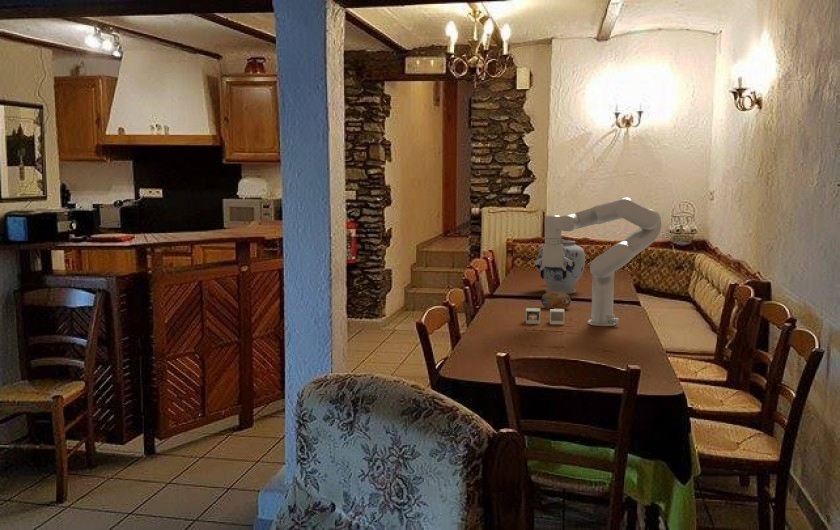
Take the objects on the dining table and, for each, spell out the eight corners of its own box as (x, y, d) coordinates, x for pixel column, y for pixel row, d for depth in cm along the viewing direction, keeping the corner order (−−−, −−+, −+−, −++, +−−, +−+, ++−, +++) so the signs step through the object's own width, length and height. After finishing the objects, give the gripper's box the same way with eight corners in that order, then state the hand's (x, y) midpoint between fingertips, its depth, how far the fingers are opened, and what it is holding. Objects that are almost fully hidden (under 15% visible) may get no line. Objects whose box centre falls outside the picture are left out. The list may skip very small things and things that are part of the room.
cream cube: (564, 321, 343) (564, 309, 342) (564, 324, 336) (564, 311, 336) (550, 321, 344) (550, 308, 343) (550, 324, 337) (550, 311, 337)
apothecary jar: (530, 289, 440) (530, 239, 436) (570, 287, 448) (570, 238, 444) (551, 296, 414) (552, 243, 411) (593, 293, 422) (594, 241, 419)
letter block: (537, 321, 344) (537, 313, 343) (537, 323, 340) (537, 314, 339) (528, 321, 344) (528, 312, 344) (528, 323, 340) (528, 314, 340)
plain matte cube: (540, 321, 345) (540, 308, 344) (539, 323, 338) (540, 310, 338) (526, 320, 346) (526, 308, 345) (525, 323, 339) (525, 310, 339)
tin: (540, 307, 379) (541, 291, 378) (542, 306, 382) (543, 290, 381) (569, 310, 372) (569, 293, 371) (571, 309, 375) (571, 292, 374)
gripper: (573, 241, 341) (573, 278, 343) (536, 241, 347) (536, 277, 349) (571, 242, 334) (571, 280, 336) (533, 242, 340) (533, 279, 342)
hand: (553, 278), depth 343 cm, fingers open, 9 cm apart
